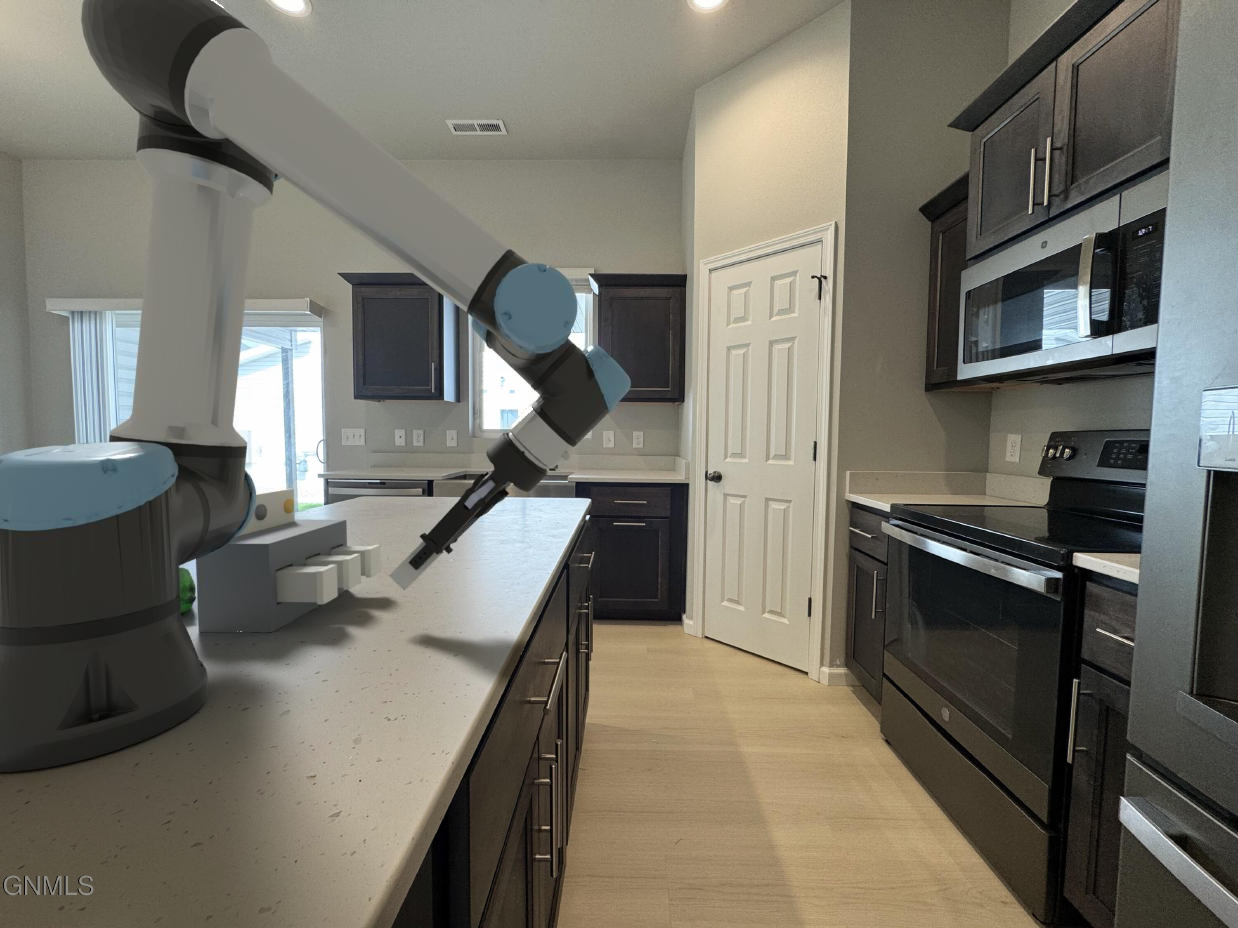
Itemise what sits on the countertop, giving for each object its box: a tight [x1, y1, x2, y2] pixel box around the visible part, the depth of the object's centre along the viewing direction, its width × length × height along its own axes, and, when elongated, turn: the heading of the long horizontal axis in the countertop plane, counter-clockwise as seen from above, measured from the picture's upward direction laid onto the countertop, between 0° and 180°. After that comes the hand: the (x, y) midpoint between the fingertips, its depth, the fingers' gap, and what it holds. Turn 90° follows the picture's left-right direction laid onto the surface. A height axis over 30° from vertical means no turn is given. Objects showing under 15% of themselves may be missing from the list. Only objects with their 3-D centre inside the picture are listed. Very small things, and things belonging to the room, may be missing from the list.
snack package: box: [179, 566, 197, 614], centre depth 77 cm, size 7×16×5 cm, turn 40°
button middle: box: [306, 554, 362, 591], centre depth 78 cm, size 3×8×4 cm, turn 89°
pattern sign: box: [238, 488, 296, 536], centre depth 77 cm, size 16×1×5 cm, turn 179°
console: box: [195, 519, 348, 633], centre depth 78 cm, size 19×9×11 cm, turn 179°
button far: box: [331, 544, 382, 578], centre depth 84 cm, size 3×8×4 cm, turn 89°
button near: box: [276, 565, 339, 605], centre depth 71 cm, size 3×8×4 cm, turn 89°
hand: (398, 581), depth 71 cm, fingers closed
